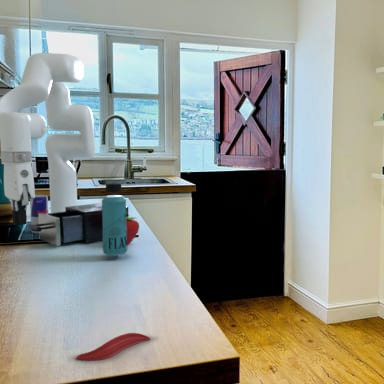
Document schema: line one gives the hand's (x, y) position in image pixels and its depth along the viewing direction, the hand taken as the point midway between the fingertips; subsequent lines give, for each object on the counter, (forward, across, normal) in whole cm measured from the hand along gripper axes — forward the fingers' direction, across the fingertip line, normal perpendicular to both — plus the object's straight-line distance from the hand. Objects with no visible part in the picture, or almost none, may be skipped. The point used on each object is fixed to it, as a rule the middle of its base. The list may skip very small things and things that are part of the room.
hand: (19, 224), depth 133 cm
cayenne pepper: (+8, -72, +14) cm, 73 cm away
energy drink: (+7, +19, -14) cm, 25 cm away
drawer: (+6, 0, -12) cm, 14 cm away
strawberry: (+8, -15, -25) cm, 30 cm away
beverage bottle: (+8, -25, -15) cm, 30 cm away
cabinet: (+7, 0, -24) cm, 25 cm away
